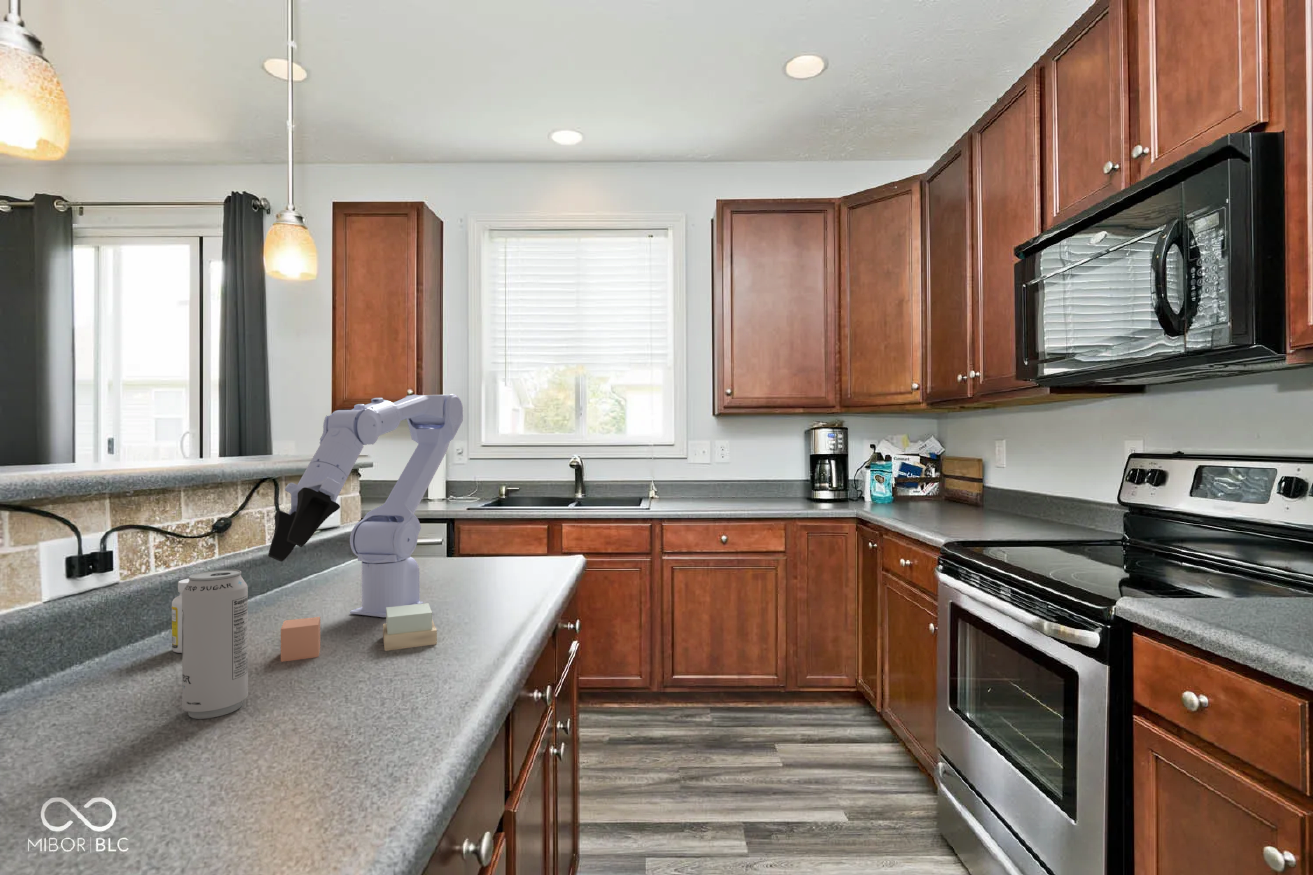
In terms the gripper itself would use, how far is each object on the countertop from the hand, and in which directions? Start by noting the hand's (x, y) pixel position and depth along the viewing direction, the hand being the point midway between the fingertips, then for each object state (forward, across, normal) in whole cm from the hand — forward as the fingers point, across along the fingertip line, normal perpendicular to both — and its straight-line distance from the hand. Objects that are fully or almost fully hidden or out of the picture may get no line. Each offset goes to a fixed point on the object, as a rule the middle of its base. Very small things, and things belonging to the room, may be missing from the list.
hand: (285, 551), depth 90 cm
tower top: (+4, +3, +20) cm, 20 cm away
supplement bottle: (+11, -17, -1) cm, 21 cm away
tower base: (+6, +2, +21) cm, 22 cm away
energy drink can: (+22, +8, 0) cm, 24 cm away
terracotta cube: (+11, -3, +9) cm, 15 cm away
